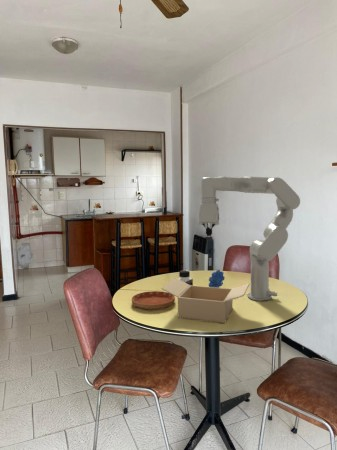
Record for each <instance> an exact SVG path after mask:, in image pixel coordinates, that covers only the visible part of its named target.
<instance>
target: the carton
mask: <svg viewBox="0 0 337 450" xmlns="http://www.w3.org/2000/svg"><path fill="white" fill-rule="evenodd" d="M232 289H233V288H224V287H223V288H222V287H219V288H215V287H209V286H202V285H193V286H192V285H190V286H189V287H188V288H187V289H186V290H185V291H184V292H183V293H182V294H181V295H180V296H179V297H177V318H178V319H183V320H184V319H185V320H194V321H199V322H200V321H203V322H209V323H215V324H216V323H218V324H225V323H226V321H227V320H228V318H229V316H230V314H231V312H232V310H233V300H230V301H227V302H225V300H226V298H227V296H228V295H229V293H230V292H231V290H232Z"/></svg>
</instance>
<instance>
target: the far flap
mask: <svg viewBox="0 0 337 450" xmlns="http://www.w3.org/2000/svg"><path fill="white" fill-rule="evenodd" d="M189 286H190V285H189V284H187V283H185V282H183V281H181V280H179V278H177V277H174V278H172V279H171V280H169V281H168V282H167V283H165V285H163V286H162V287H160V289H161V290H163V292H168V293H170V294H172V295H174V296H175V298H178V297H179V296H180V295H181V294H182V293H183V292H184V291H185V290H186V289H187V288H188V287H189Z"/></svg>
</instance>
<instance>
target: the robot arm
mask: <svg viewBox="0 0 337 450" xmlns="http://www.w3.org/2000/svg"><path fill="white" fill-rule="evenodd" d="M200 181H201V183H200V184H201V203H200V204H199V209H198V210H199V212H198V224H199V225H200V226H203V228H205V234H206V237H211V236H212V235H213V228H214V227H215V226H218V225H220V210H219V204H218V203H217V202H219V201H220V199H219V198H217V191H219V192H239V193H246V194H270V195H274V196H275V197H276V200H275V203H276V207H277V211H276V214H275V215H274V217H273V219H272V220H271V221H270V222H269V223H268V225H267V226H266V227H265V228H264V229H263V237H264V240H262V239H256V240H254V241H253V242H251V244H250V247H249V256H250V257H249V258H250V292H249V293H248V294H247V297H248V299H250V300H253V301H258V302H263V301H264V302H266V301H270V300H272V297H277V296H278V292H276V291H271V290H270V287H269V286H270V283H269V282H270V281H269V280H270V279H269V278H270V277H269V276H270V261H272V260H273V259H274V258H275V257H276V256H277V255H278V253H279V252H280V251H281V250H282V248H283V247H284V245H285V244H286V242H287V241H288V238H289V232H288V230H287V228H288V227H289V225H290V224H291V222H292V221H293V216H294V210H296V209H297V208H299V206H300V204H301V198H300V196H299V195H298V194H297V192H295V190H293V188H292V187H291V186H290V185H289V184H288V183H287V182H286V181H285V180H284V179H283V178H281V177H279V176H277V177H270V176H269V177H267V176H266V177H265V176H264V177H263V176H241V177H239V176H238V177H237V176H236V177H230V176H218V177H212V176H206V177H202V178H201V180H200Z"/></svg>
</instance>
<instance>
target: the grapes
mask: <svg viewBox="0 0 337 450" xmlns="http://www.w3.org/2000/svg"><path fill="white" fill-rule="evenodd" d="M224 274H225V273H224V271H221V270H220V269H217V270H216V271H213V272H212V273H211V276H209V277H208V282H209V283H208V287H215V288H220V287H222V286H224V282H223V281H225V275H224Z"/></svg>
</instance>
